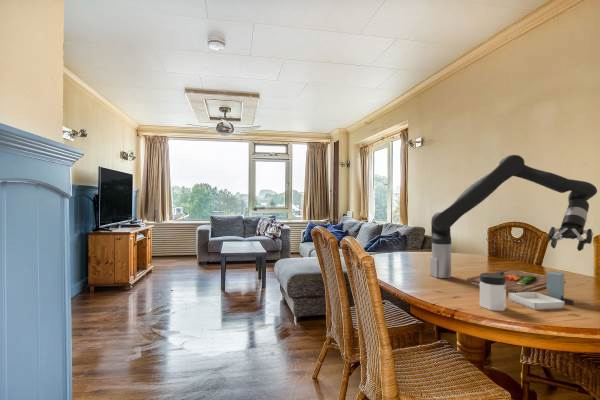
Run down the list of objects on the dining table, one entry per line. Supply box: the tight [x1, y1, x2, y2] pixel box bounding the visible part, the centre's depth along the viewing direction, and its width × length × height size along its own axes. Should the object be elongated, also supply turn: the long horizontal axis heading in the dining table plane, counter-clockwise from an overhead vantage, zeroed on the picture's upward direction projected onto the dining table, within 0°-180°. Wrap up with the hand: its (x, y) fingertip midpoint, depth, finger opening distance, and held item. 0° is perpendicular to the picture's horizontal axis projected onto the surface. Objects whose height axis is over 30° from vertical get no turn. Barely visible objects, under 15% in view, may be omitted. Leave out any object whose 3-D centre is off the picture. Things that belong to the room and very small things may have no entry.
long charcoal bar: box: [539, 292, 575, 305], centre depth 127 cm, size 11×2×2 cm, turn 35°
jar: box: [479, 272, 507, 312], centre depth 120 cm, size 9×8×12 cm
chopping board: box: [466, 269, 547, 293], centre depth 157 cm, size 45×27×3 cm, turn 120°
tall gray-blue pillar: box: [546, 271, 565, 300], centre depth 127 cm, size 4×5×11 cm
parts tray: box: [507, 291, 566, 311], centre depth 124 cm, size 12×12×2 cm
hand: (565, 248), depth 134 cm, fingers open, 8 cm apart
